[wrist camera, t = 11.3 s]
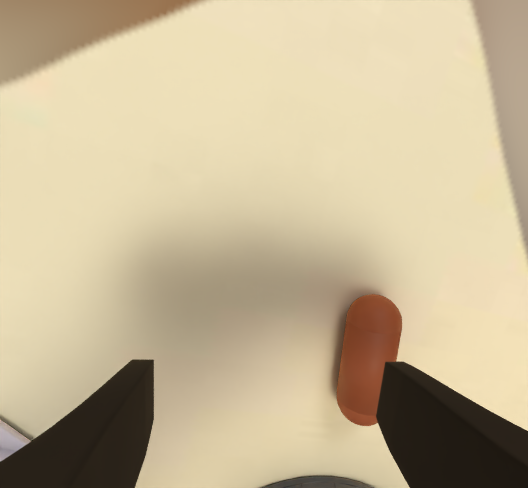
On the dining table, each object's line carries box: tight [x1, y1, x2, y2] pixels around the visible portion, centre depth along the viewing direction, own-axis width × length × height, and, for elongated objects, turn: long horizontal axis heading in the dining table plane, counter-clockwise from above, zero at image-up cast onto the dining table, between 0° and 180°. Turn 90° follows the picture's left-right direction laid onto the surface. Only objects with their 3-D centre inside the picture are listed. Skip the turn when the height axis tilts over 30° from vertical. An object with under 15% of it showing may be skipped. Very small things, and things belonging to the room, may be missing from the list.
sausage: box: [337, 294, 402, 426], centre depth 20 cm, size 8×3×3 cm, turn 176°
